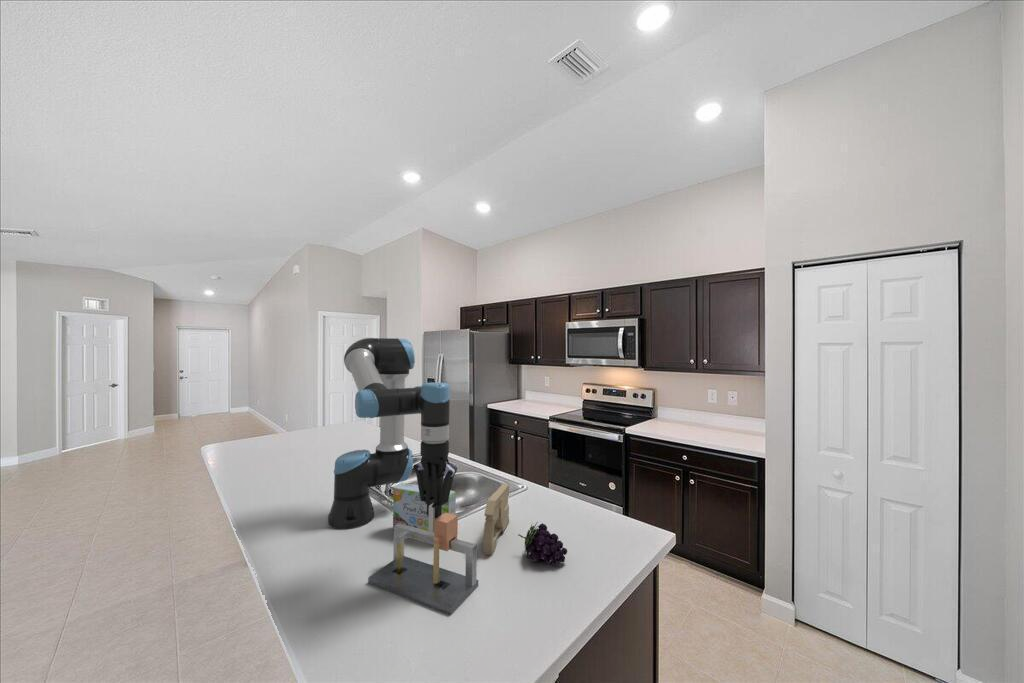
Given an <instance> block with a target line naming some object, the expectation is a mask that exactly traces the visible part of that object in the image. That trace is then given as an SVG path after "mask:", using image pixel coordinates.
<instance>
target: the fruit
mask: <svg viewBox="0 0 1024 683" xmlns="http://www.w3.org/2000/svg"><path fill="white" fill-rule="evenodd" d="M537 524H538V522H536V523H535V524H534V525H533V522H532V524H531V525H530V527H529V529H528V530H527V532H526V536H523V535H521V534H519V533H518V534H517V536H519V537H521V538H522V539H524V546H523V547H524V548H523V549H524V551H525V553H526V558H527V559H529V558H530V561H531V562H533V563H534V562H538V561H539V560H540V559H542V560H543V562H545V563H546V564H549V563H551V565H556V564H559V563H560V564H562V563H565V560H566V557H565V555H567V554H568V549H567V548H566V547H564V543H563V542H562V540H559V535H557V534H556V533H552V534H551V532H550V531H549V530H548V526H547V525H546V523H543V522H542V523H541V524H539V525H537Z"/></svg>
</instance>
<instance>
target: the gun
mask: <svg viewBox="0 0 1024 683" xmlns="http://www.w3.org/2000/svg"><path fill="white" fill-rule="evenodd" d="M509 497H510V483H509V484H508V483H501V485H500V486H499V487H498V488H497V489H496V491H494V492H493V493H492V494H491V495H490V497H488V498H487V501H486V506H485V510H484V513H483V514H484V517H485V519H484V520H485V521H484V529H483V539H482V545H483V546H482V547H483V555H484V556H485V555H486V556H493V555H494V552H495V549H496V547H497V542H498V541H497V539H498V537H499V535H500V534H501V533H503V532H504V531H505V529H506V527H507V526H508V524H509V522H510V516H509V514H510V512H509V511H510V505H509Z"/></svg>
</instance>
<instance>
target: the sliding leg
mask: <svg viewBox="0 0 1024 683" xmlns="http://www.w3.org/2000/svg"><path fill="white" fill-rule="evenodd" d="M458 518H459V516H458V515H453V514H449V513H444V514H443V515H441V516H439V517H438V518H436V519H435V520H434V538H433V544H434V545H433V564H432V565H433V583H436V584H437V583H438V582H439V567H440V551H441V550H442V551H443V552H444V551H445V552H449V551H450V549H449V541H450V540H451V539H452V538H455V539H458V534H459V532H458V531H459V530H458V525H459V524H458Z"/></svg>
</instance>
